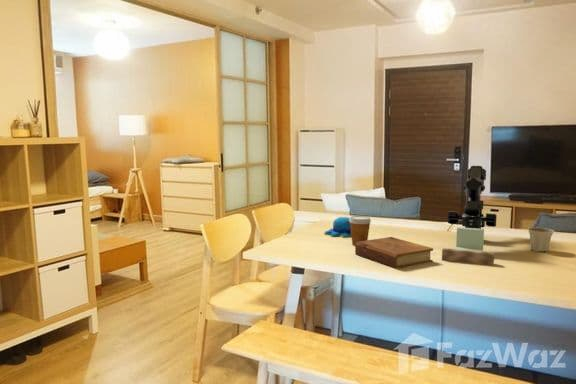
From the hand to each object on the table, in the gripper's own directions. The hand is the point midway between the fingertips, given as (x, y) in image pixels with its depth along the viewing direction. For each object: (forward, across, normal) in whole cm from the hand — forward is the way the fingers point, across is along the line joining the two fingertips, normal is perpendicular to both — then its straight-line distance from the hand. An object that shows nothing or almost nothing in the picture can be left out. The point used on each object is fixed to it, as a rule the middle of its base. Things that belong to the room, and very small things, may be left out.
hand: (470, 235), depth 186 cm
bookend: (+9, 0, 0) cm, 9 cm away
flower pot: (-5, +26, +15) cm, 30 cm away
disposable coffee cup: (+8, -44, +2) cm, 45 cm away
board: (+16, 0, -6) cm, 17 cm away
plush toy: (-5, -58, +15) cm, 60 cm away
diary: (+20, -27, -10) cm, 35 cm away
